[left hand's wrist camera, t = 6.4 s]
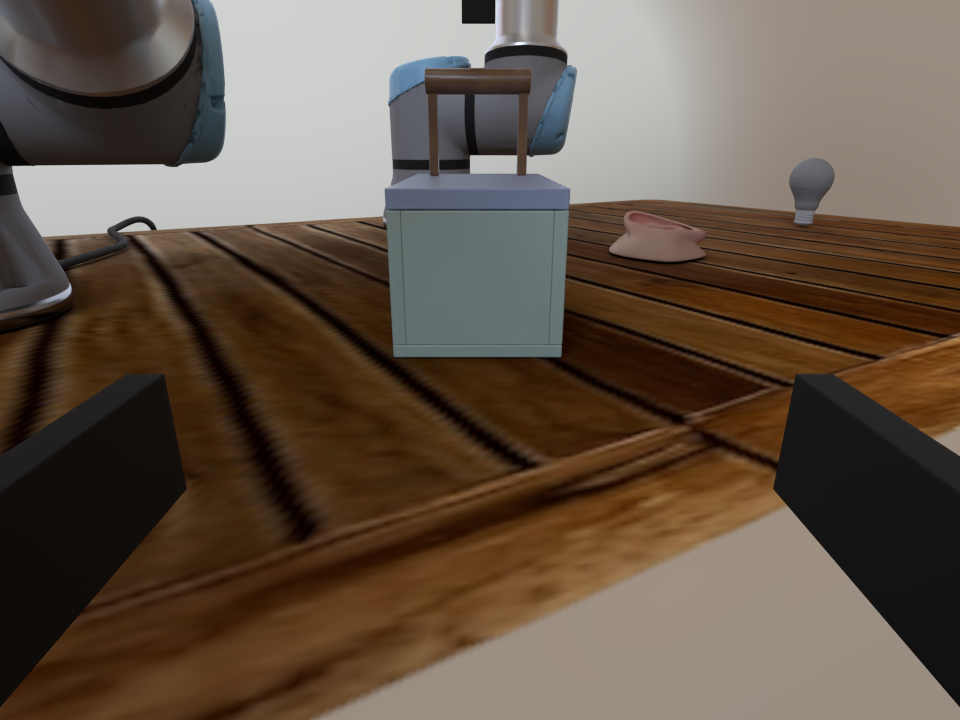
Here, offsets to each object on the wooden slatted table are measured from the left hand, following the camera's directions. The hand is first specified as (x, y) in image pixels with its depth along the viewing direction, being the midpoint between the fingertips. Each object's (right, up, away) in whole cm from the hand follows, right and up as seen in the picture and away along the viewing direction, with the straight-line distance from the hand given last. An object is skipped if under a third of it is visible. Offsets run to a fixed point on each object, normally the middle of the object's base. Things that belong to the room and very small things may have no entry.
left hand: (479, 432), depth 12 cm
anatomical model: (+21, +14, +57) cm, 62 cm away
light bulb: (+51, +22, +79) cm, 97 cm away
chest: (0, +5, +31) cm, 31 cm away
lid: (0, +13, +28) cm, 31 cm away
